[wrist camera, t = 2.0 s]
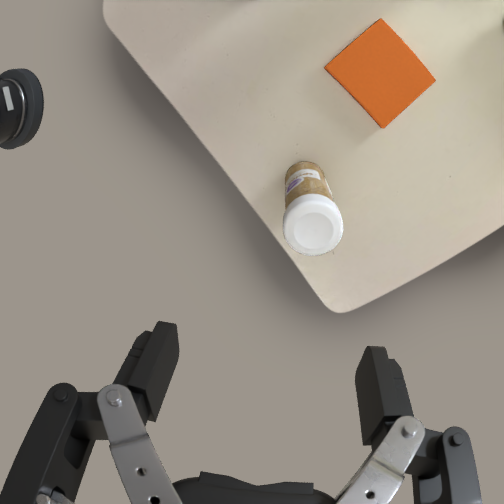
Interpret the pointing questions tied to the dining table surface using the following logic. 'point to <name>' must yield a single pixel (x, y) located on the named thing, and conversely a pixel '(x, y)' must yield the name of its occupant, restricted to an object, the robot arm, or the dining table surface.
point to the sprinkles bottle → (310, 211)
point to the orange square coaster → (381, 73)
